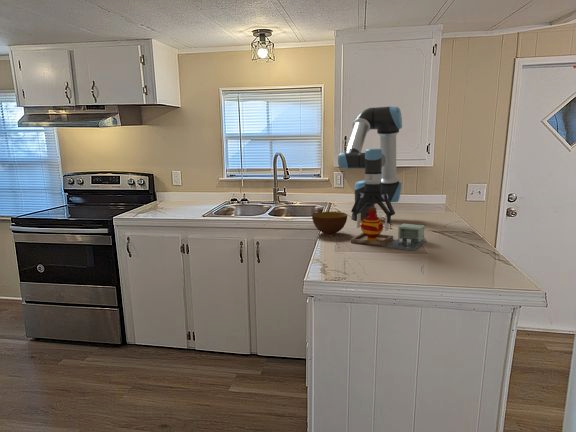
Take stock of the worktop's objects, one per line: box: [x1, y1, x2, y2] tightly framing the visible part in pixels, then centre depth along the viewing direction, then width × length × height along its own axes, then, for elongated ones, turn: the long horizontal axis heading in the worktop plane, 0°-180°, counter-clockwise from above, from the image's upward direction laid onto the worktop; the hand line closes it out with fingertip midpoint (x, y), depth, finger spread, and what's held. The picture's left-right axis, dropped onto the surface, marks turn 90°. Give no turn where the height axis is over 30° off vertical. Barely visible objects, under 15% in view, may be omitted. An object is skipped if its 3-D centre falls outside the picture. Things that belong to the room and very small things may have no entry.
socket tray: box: [350, 232, 394, 248], centre depth 189 cm, size 15×15×2 cm
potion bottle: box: [359, 206, 384, 241], centre depth 187 cm, size 10×10×15 cm
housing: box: [397, 223, 425, 242], centre depth 186 cm, size 10×7×6 cm
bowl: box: [311, 211, 348, 236], centre depth 204 cm, size 18×18×10 cm
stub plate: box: [388, 237, 427, 252], centre depth 182 cm, size 11×20×4 cm, turn 148°
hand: (372, 228), depth 188 cm, fingers open, 13 cm apart
